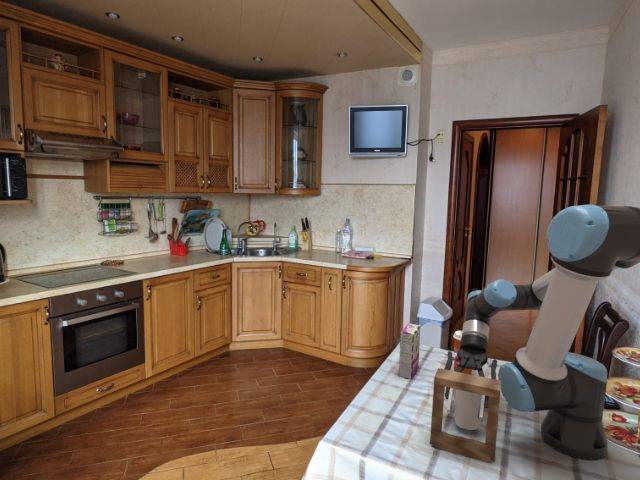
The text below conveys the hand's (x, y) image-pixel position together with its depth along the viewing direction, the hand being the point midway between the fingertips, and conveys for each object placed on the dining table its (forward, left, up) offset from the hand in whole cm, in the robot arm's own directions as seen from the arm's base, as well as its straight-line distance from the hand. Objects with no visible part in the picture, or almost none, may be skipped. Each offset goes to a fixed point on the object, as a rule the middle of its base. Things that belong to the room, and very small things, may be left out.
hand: (464, 415), depth 113 cm
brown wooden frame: (-1, +7, -5) cm, 8 cm away
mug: (0, -4, -4) cm, 5 cm away
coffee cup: (+4, -39, -5) cm, 40 cm away
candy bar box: (+22, -31, -5) cm, 39 cm away
